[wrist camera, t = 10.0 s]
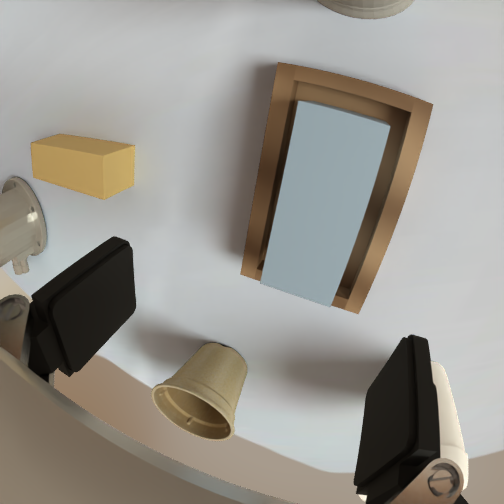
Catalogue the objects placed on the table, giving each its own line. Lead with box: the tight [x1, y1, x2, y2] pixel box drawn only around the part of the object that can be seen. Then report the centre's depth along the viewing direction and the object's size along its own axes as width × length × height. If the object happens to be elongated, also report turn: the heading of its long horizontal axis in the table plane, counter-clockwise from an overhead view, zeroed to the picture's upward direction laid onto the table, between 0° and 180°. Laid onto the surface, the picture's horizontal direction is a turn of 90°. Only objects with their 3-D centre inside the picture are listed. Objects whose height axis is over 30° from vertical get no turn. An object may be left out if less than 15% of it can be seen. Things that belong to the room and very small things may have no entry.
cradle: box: [241, 62, 433, 314], centre depth 21 cm, size 16×10×3 cm, turn 170°
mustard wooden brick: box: [31, 134, 135, 200], centre depth 27 cm, size 4×12×4 cm, turn 80°
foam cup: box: [358, 361, 468, 502], centre depth 22 cm, size 10×9×13 cm
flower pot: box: [151, 343, 247, 441], centre depth 32 cm, size 9×9×9 cm
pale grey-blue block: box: [260, 101, 390, 307], centre depth 20 cm, size 12×5×4 cm, turn 170°
